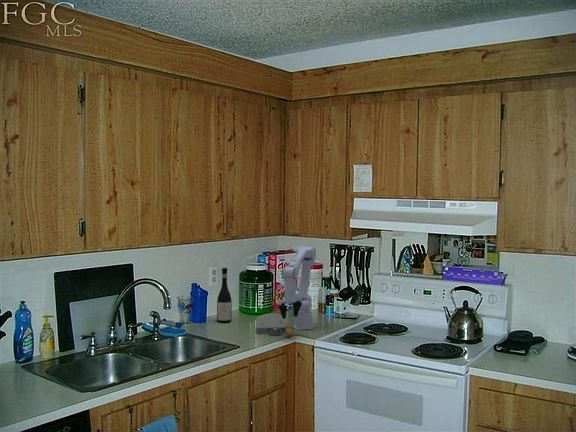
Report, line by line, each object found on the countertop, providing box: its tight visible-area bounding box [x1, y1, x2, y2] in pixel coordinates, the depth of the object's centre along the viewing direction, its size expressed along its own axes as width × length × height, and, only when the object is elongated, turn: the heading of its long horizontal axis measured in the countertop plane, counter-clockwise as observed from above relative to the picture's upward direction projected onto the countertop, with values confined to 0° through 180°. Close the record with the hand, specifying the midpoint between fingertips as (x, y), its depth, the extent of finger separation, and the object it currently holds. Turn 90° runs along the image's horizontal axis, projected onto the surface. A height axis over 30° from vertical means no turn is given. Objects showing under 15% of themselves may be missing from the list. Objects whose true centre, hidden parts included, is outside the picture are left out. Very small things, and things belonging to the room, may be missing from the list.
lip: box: [255, 327, 294, 337], centre depth 284 cm, size 19×6×3 cm, turn 100°
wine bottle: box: [216, 267, 233, 324], centre depth 310 cm, size 8×8×30 cm
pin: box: [285, 323, 294, 339], centre depth 280 cm, size 4×4×6 cm
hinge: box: [255, 313, 287, 329], centre depth 292 cm, size 17×5×10 cm, turn 104°
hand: (289, 317), depth 280 cm, fingers open, 7 cm apart
